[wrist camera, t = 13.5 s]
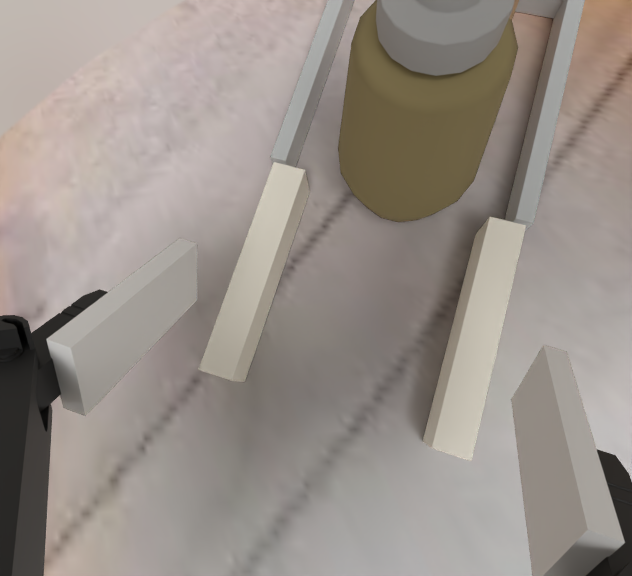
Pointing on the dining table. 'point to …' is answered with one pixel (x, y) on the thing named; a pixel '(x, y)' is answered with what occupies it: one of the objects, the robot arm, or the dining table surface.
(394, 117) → the squeeze bottle
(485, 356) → the slot rails
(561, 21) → the grey flat u-shaped frame
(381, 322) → the dining table surface
